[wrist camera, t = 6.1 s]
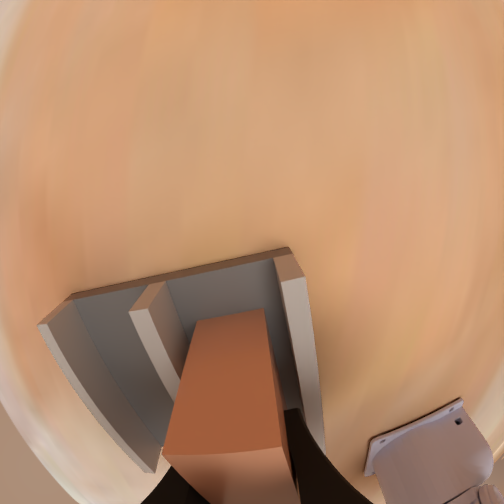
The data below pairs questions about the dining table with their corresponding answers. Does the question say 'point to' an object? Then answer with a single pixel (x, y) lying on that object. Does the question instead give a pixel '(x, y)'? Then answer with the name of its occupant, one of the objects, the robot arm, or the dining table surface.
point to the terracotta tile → (232, 415)
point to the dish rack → (178, 343)
